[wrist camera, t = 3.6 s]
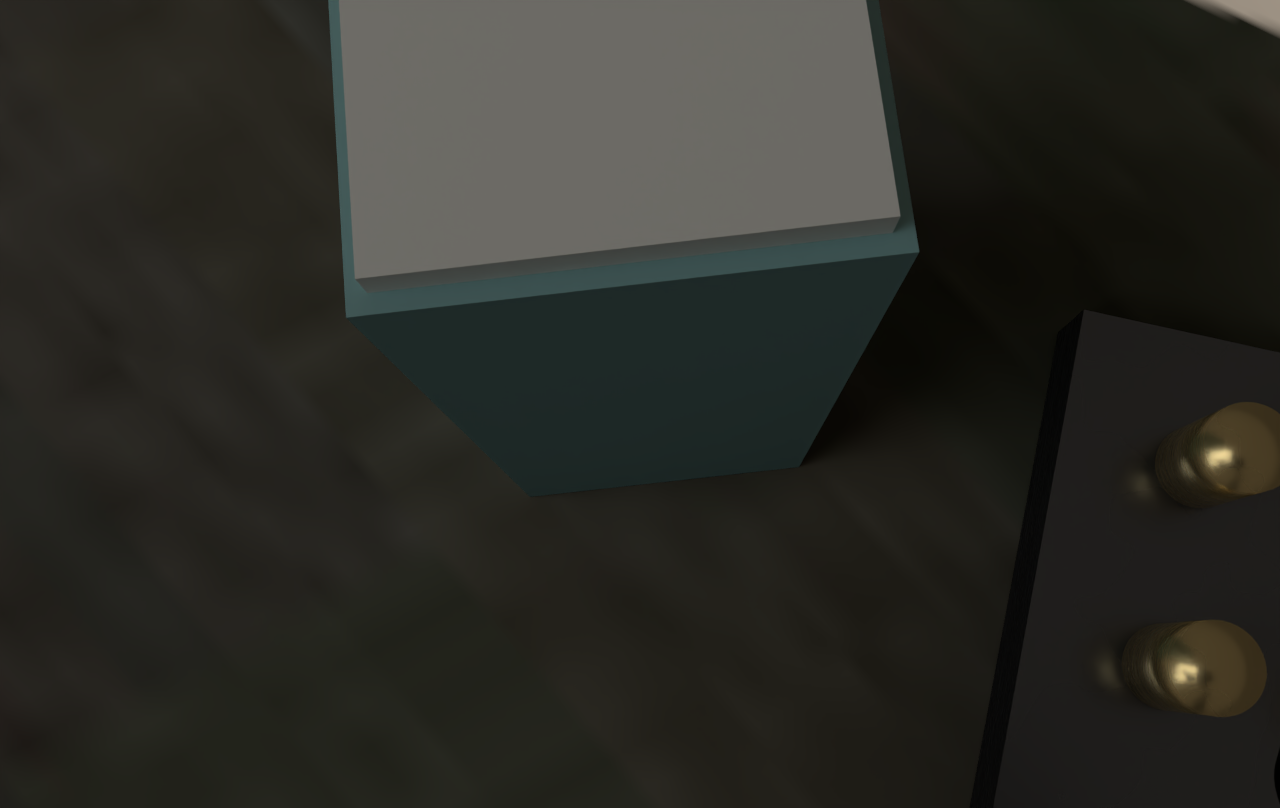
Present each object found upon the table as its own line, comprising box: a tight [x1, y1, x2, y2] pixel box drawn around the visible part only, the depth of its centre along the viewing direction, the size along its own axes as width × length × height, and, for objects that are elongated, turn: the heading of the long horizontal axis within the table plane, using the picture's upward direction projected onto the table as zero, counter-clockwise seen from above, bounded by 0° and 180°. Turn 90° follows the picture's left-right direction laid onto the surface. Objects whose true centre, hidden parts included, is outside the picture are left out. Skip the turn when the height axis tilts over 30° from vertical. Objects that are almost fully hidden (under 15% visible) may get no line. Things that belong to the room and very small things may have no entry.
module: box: [329, 0, 919, 497], centre depth 17 cm, size 5×5×12 cm
